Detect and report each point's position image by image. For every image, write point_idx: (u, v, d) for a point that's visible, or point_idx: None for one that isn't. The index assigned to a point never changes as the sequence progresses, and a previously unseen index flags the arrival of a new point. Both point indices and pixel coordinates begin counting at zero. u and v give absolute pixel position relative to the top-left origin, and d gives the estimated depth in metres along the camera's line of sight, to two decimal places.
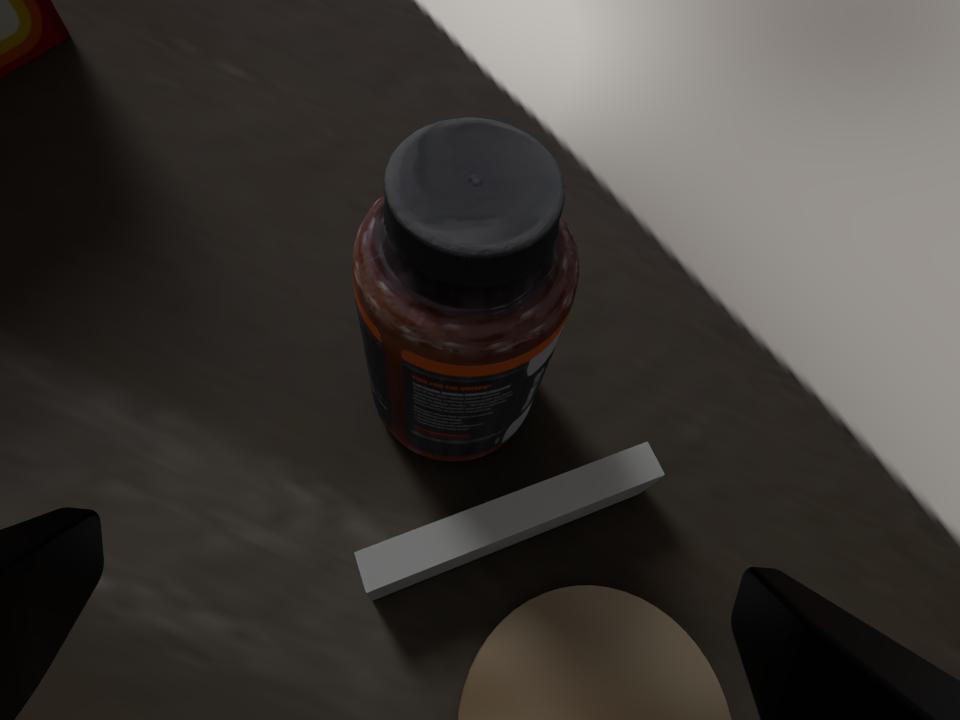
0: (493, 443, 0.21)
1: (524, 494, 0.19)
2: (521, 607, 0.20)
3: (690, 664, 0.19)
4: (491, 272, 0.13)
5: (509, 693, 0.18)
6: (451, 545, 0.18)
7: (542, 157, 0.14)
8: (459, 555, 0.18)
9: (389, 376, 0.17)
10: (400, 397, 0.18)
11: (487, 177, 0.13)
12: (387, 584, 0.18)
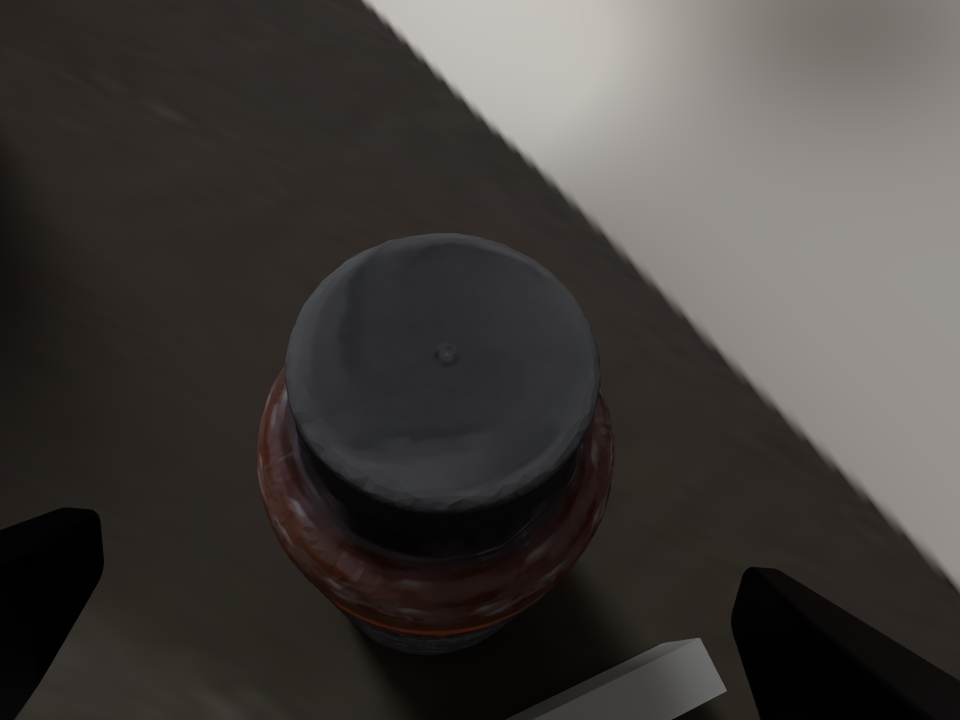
0: (485, 638, 0.15)
1: None
2: None
3: None
4: (473, 522, 0.07)
5: None
6: None
7: (559, 306, 0.08)
8: None
9: None
10: None
11: (467, 347, 0.08)
12: None
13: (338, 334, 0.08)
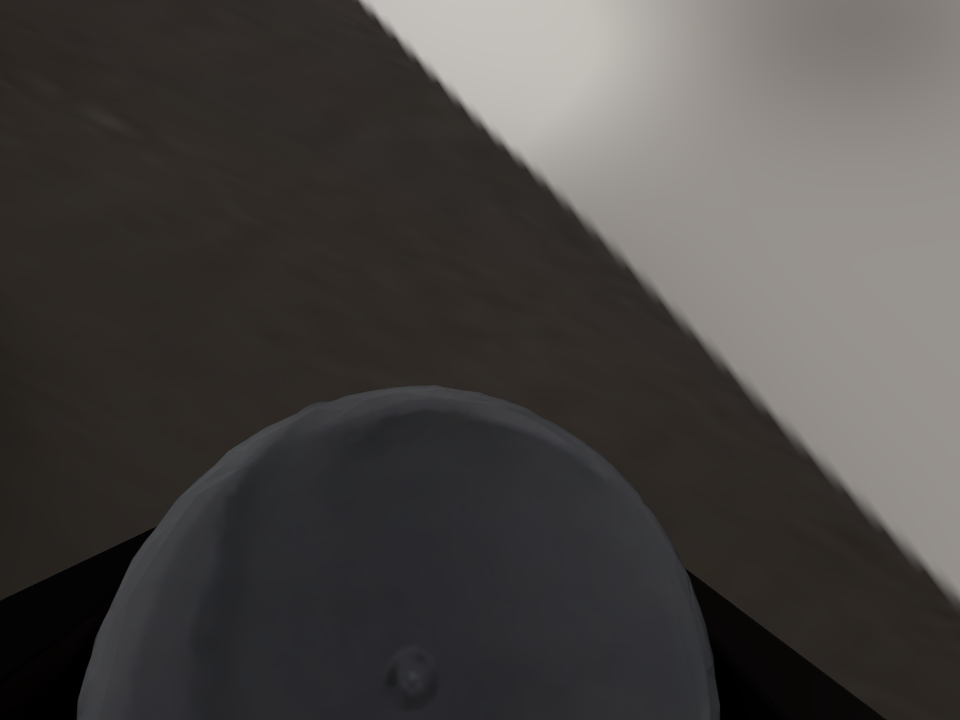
0: None
1: None
2: None
3: None
4: None
5: None
6: None
7: (633, 544, 0.04)
8: None
9: None
10: None
11: (455, 656, 0.04)
12: None
13: (192, 634, 0.04)
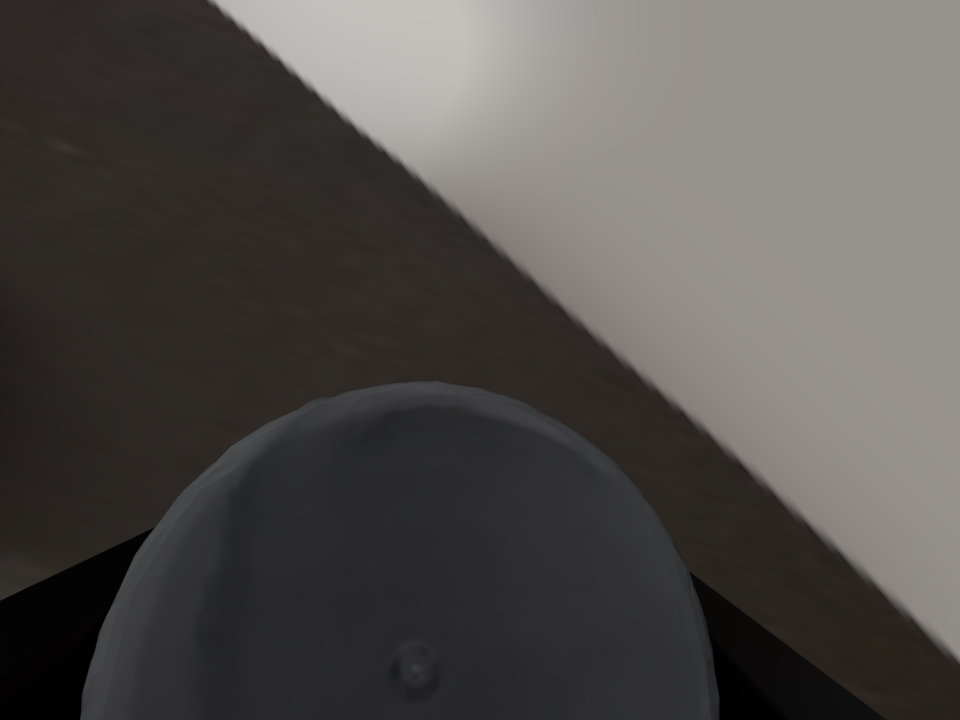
0: None
1: None
2: None
3: None
4: None
5: None
6: None
7: (634, 538, 0.04)
8: None
9: None
10: None
11: (457, 651, 0.04)
12: None
13: (196, 628, 0.04)
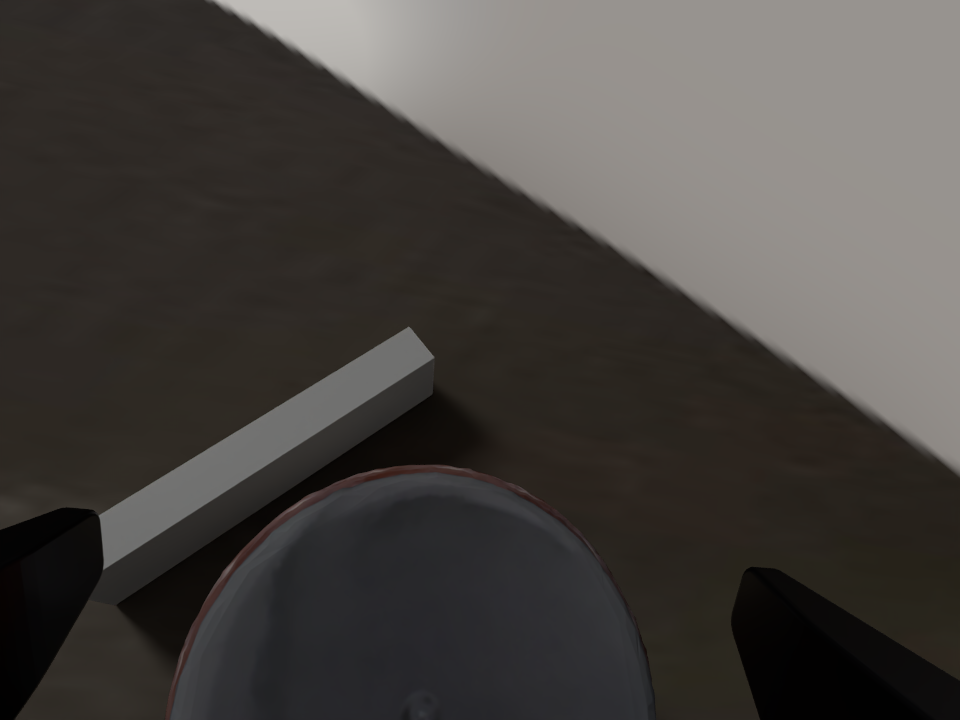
0: None
1: (265, 422, 0.15)
2: None
3: None
4: None
5: None
6: (176, 505, 0.14)
7: (594, 606, 0.05)
8: (188, 514, 0.14)
9: None
10: None
11: (453, 698, 0.05)
12: None
13: (252, 683, 0.05)
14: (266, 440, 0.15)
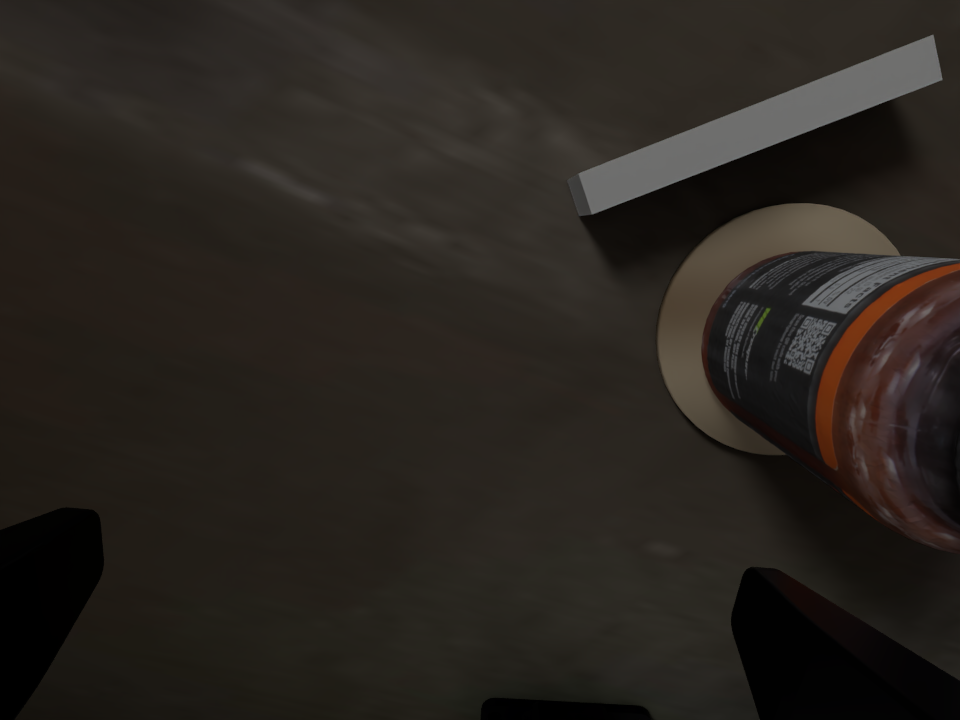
0: None
1: (768, 106, 0.17)
2: (731, 224, 0.19)
3: None
4: None
5: (710, 300, 0.20)
6: (680, 165, 0.17)
7: None
8: (688, 176, 0.17)
9: (787, 440, 0.15)
10: (778, 441, 0.16)
11: None
12: None
13: None
14: (764, 126, 0.17)
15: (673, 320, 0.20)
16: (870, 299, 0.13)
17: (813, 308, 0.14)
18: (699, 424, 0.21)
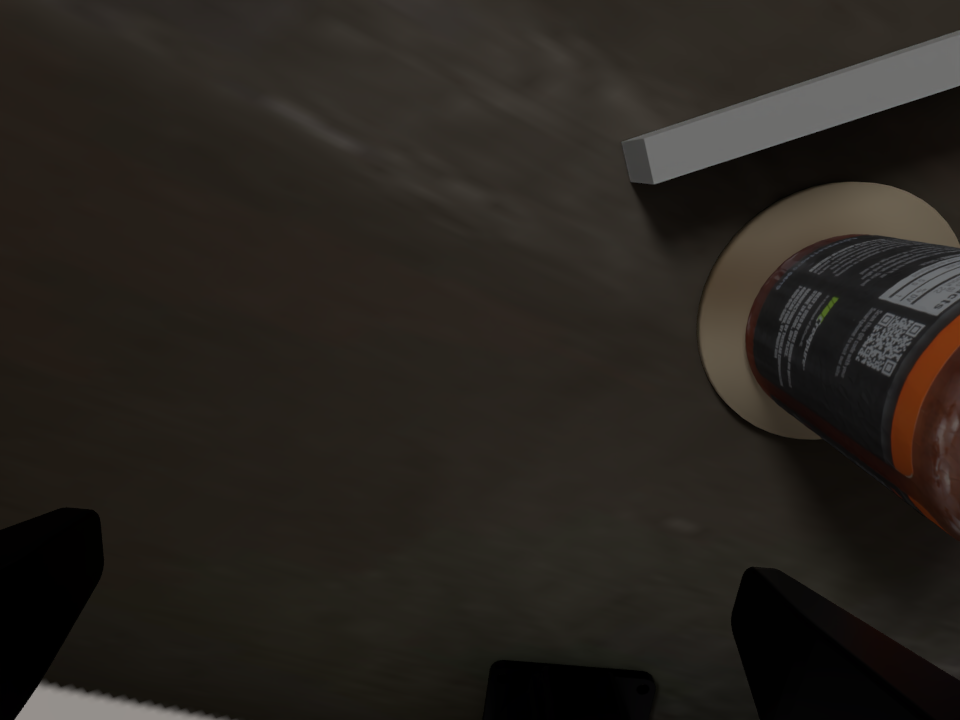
0: None
1: (854, 77, 0.15)
2: (791, 201, 0.18)
3: None
4: None
5: (760, 279, 0.19)
6: (754, 136, 0.16)
7: None
8: (760, 149, 0.16)
9: (846, 437, 0.14)
10: (831, 435, 0.15)
11: None
12: None
13: None
14: (848, 98, 0.16)
15: (719, 298, 0.19)
16: None
17: (893, 305, 0.13)
18: (733, 405, 0.20)
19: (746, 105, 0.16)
